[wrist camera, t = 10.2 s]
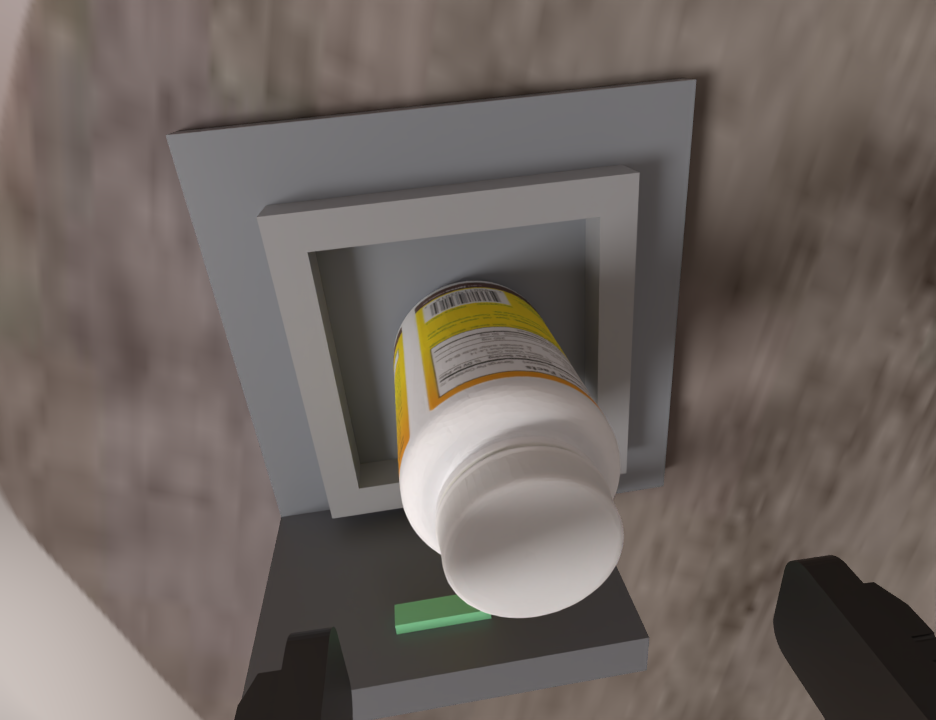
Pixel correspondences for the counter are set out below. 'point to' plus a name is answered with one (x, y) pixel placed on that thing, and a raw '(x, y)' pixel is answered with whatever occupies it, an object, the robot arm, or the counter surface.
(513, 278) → the charging dock
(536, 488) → the supplement bottle
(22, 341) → the counter surface
